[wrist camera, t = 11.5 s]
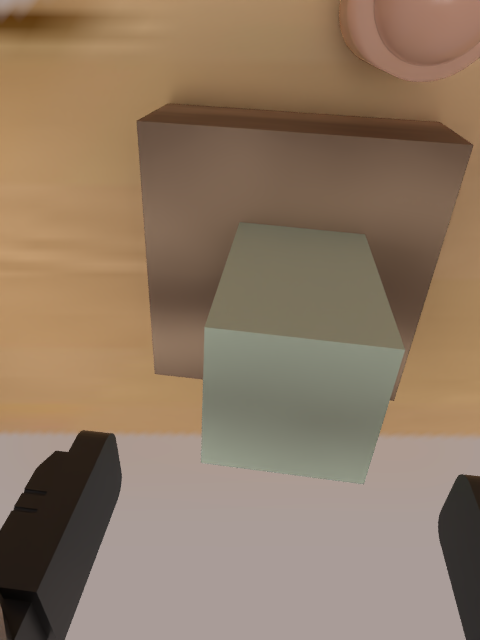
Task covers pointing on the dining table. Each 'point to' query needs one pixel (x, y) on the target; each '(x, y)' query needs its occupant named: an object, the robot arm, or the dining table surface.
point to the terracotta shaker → (413, 35)
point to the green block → (298, 355)
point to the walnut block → (287, 204)
